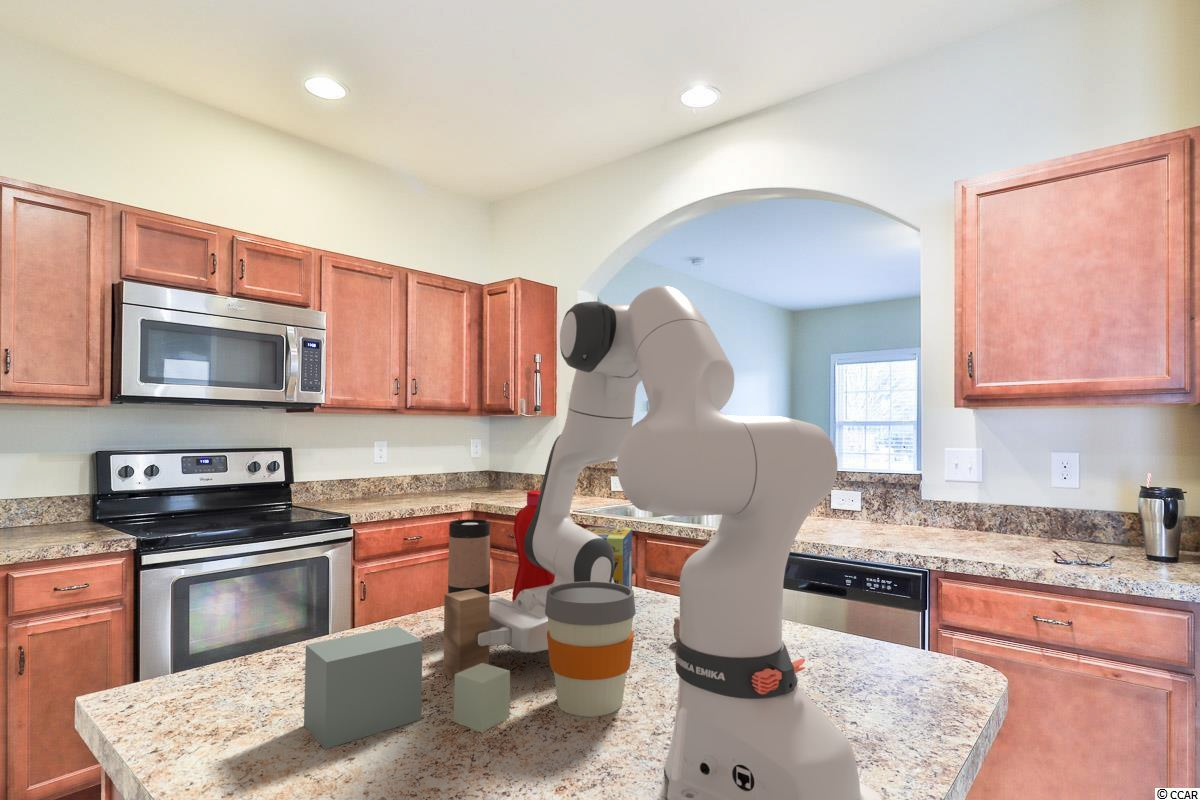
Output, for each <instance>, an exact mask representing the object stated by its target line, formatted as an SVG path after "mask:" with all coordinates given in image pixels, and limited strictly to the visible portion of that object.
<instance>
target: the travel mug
mask: <svg viewBox="0 0 1200 800" xmlns="http://www.w3.org/2000/svg"><path fill="white" fill-rule="evenodd" d="M448 526H449V528H448V530H449V531H448V532H449V534H448V564H447V565H448V566H447V567H448V570H447V573H448V575H447V594H449V593H454V592H460V591H465V590H471V589H474V590H477V591H480V592H482V593H485V594H488V595H490V582H491V581H490V580H491V576H490V575H491V568H490V567H491V566H490V565H491V559H490V558H491V542H490V541H491V540H490V539H491V537H490V536H491V535H490V534H491V521H489V522H488V521H487V520H485V519H478V518H477V519H476V518H474V519H473V518H471V519H468V518H467V519H466V518H465V519H457V520H452V521H449V525H448Z"/></svg>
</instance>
